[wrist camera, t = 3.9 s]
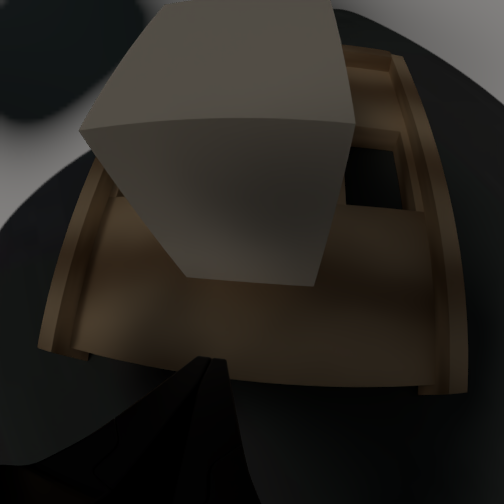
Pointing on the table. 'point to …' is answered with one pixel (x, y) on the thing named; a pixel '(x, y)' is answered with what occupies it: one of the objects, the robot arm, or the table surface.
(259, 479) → the table surface
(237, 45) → the cream block
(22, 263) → the table surface
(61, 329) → the wooden tray
